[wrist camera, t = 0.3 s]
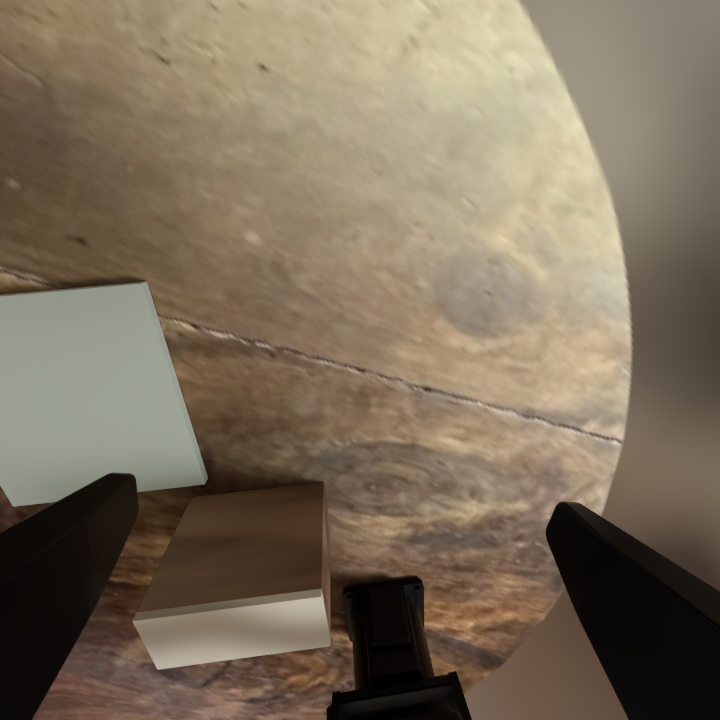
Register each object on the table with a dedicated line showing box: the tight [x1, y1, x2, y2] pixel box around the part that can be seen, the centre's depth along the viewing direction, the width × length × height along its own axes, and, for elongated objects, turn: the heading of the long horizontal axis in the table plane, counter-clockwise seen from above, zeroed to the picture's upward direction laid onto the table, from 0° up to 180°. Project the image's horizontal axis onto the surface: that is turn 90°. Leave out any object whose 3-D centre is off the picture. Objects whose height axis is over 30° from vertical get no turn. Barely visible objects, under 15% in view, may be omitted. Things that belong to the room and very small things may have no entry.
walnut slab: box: [132, 482, 331, 670], centre depth 22 cm, size 4×9×8 cm, turn 94°
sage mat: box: [0, 281, 208, 507], centre depth 21 cm, size 13×12×1 cm
